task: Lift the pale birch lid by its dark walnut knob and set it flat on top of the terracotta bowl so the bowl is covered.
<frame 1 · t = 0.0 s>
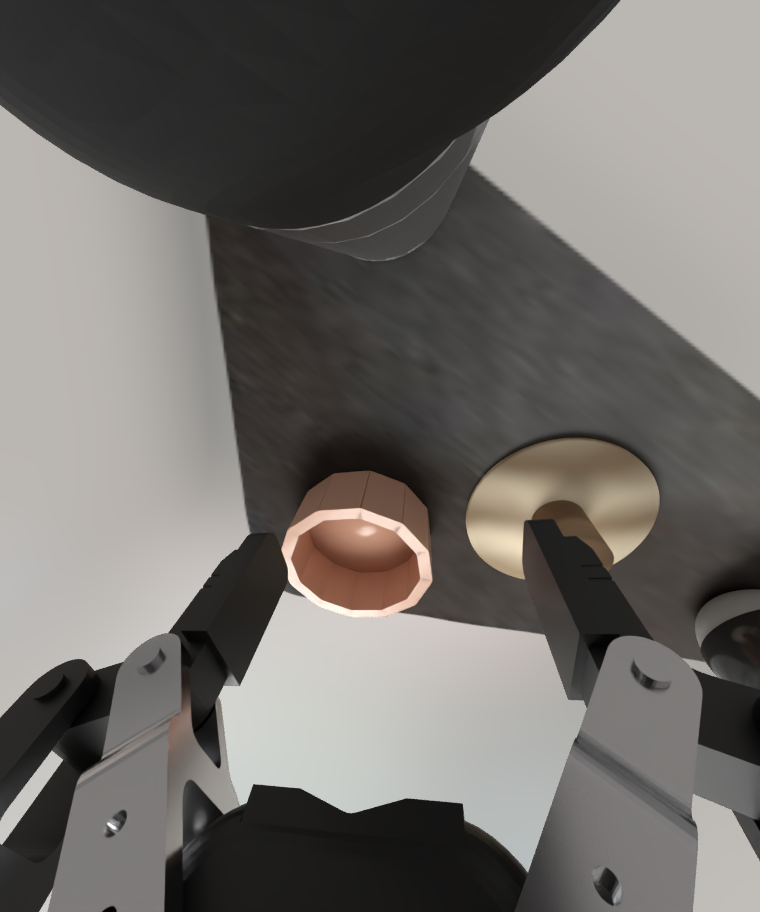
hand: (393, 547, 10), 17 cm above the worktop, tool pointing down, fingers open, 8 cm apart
pump dispenser: (732, 605, 33), on the worktop
bowl: (364, 526, 33), on the worktop
lid: (553, 513, 30), on the worktop
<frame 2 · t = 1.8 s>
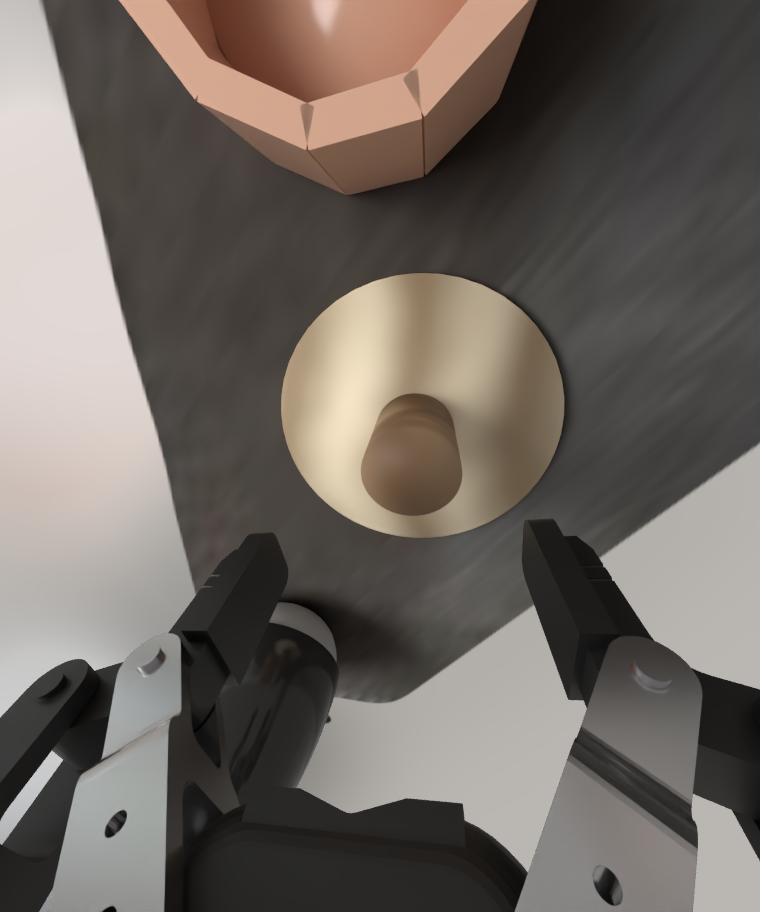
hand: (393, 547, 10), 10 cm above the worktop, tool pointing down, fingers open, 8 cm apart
pump dispenser: (296, 621, 30), on the worktop
lid: (415, 424, 20), on the worktop
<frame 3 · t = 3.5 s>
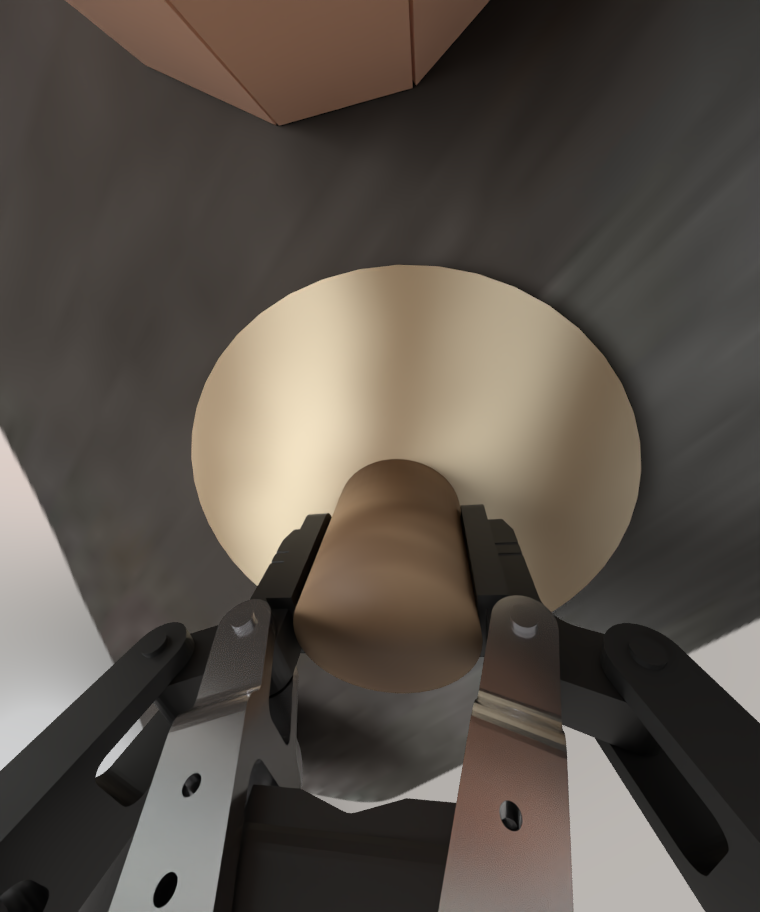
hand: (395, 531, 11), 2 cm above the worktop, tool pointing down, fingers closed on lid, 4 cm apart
pump dispenser: (253, 715, 23), on the worktop
lid: (400, 497, 13), on the worktop, touching gripper
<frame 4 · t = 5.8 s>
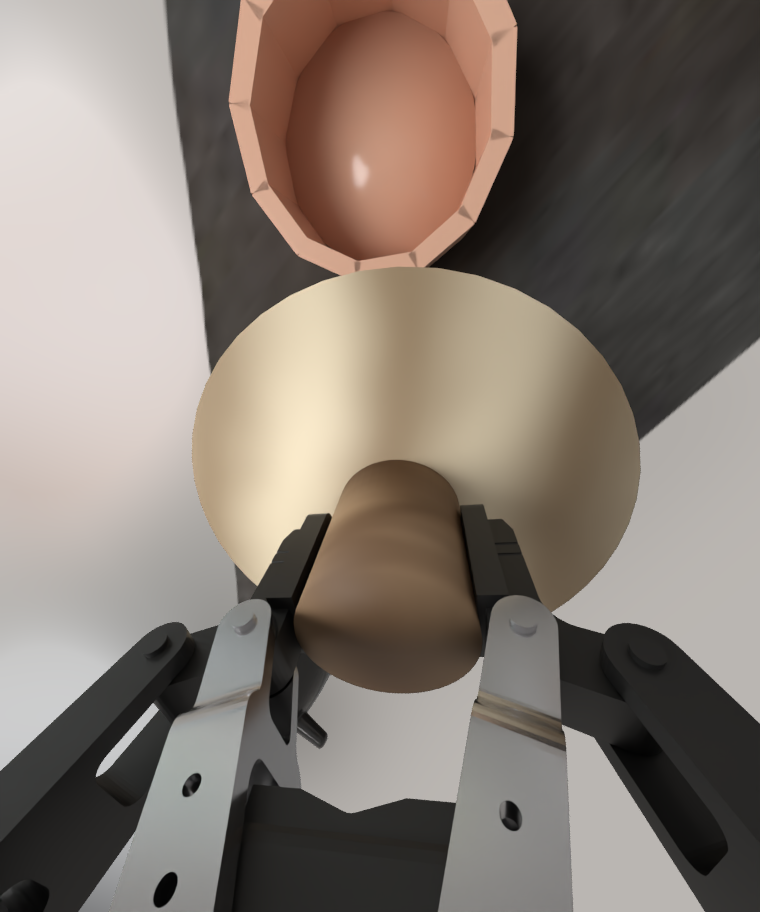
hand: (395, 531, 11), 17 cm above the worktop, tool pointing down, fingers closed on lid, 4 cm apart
pump dispenser: (313, 582, 38), on the worktop
bowl: (380, 161, 20), on the worktop
lid: (400, 497, 13), point 15 cm above the worktop, touching gripper
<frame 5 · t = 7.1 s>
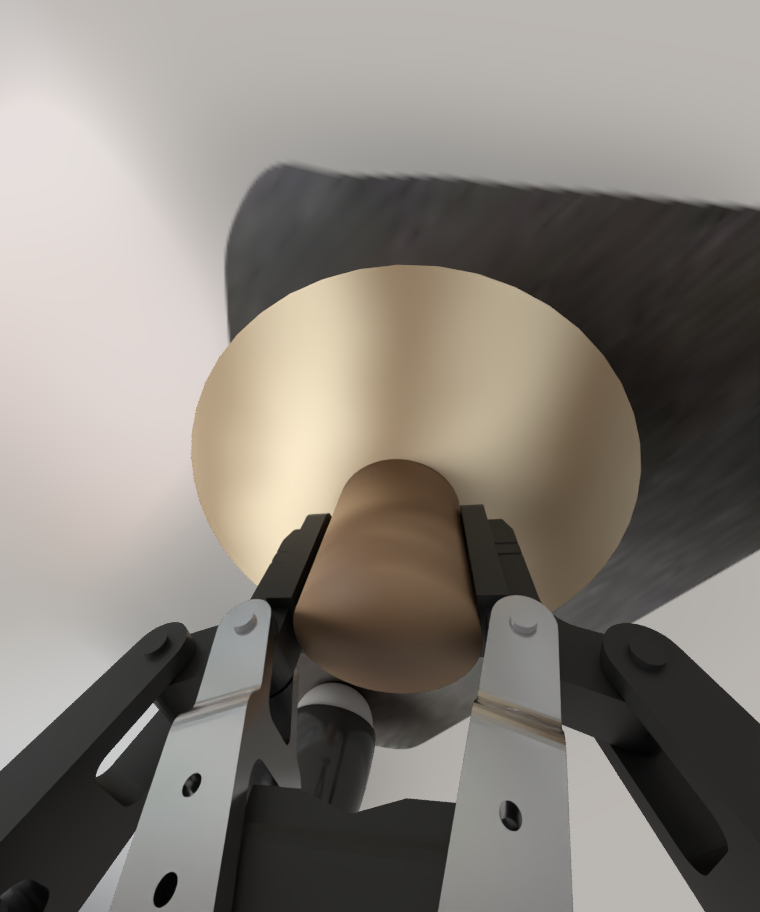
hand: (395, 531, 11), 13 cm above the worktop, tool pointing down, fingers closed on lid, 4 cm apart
pump dispenser: (340, 692, 41), on the worktop
lid: (400, 497, 13), point 11 cm above the worktop, touching gripper
when the fingers open (9 cm above the worktop, at t = 8.1 s): lid drops 1 cm, resting on bowl.
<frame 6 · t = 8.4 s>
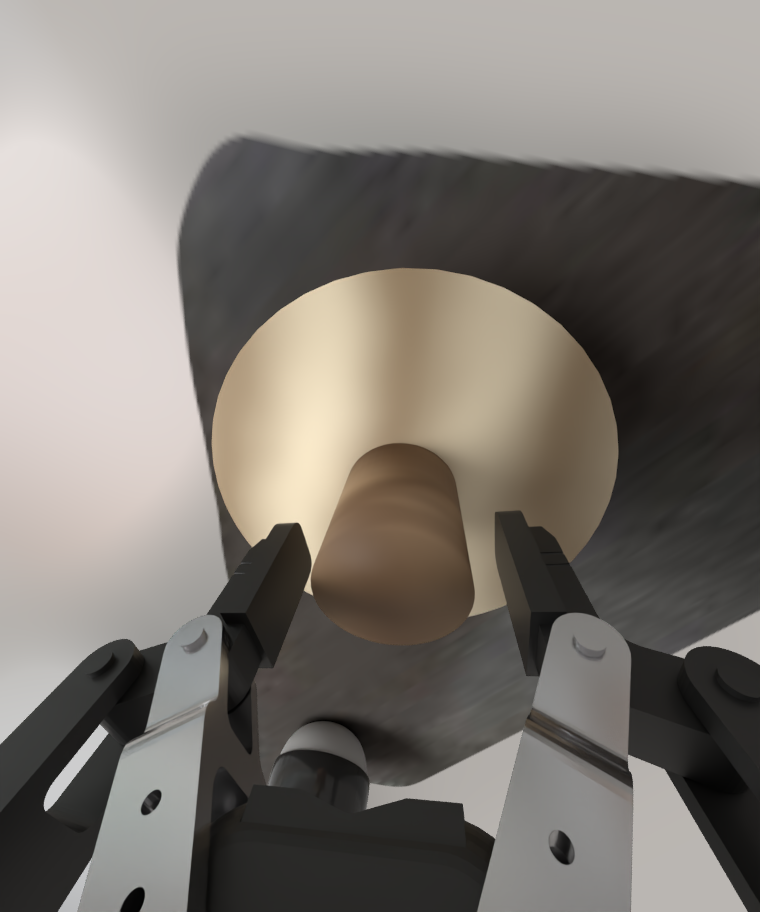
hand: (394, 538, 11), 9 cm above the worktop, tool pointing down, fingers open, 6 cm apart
pump dispenser: (331, 730, 37), on the worktop
lid: (402, 480, 14), point 5 cm above the worktop, touching bowl
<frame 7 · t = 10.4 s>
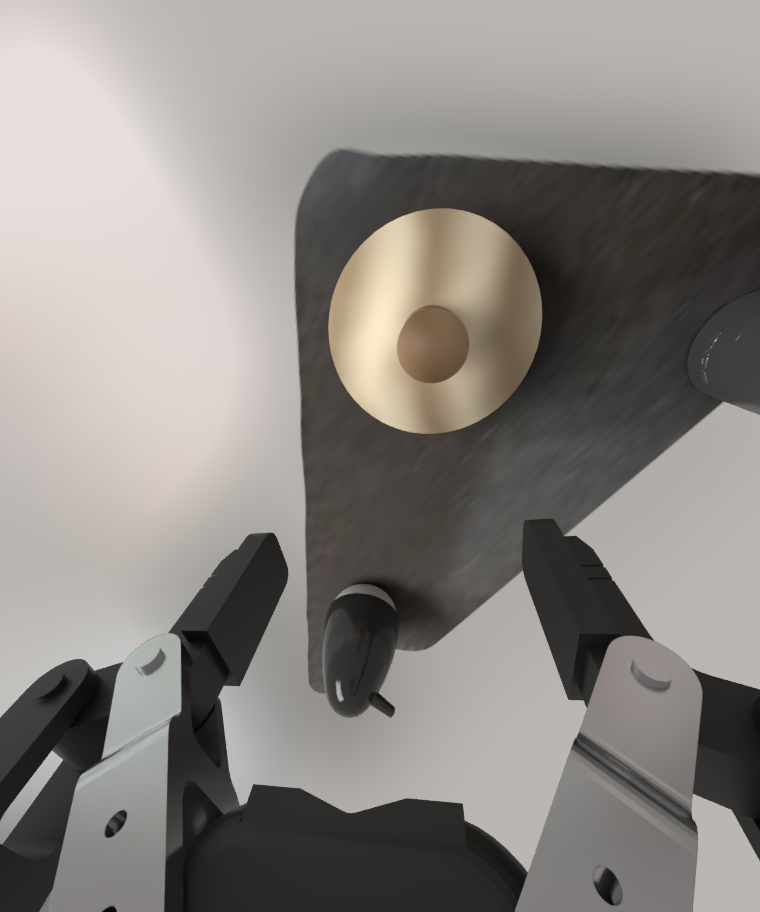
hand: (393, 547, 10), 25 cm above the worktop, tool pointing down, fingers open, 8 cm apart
pump dispenser: (368, 596, 49), on the worktop
lid: (430, 335, 26), point 5 cm above the worktop, touching bowl
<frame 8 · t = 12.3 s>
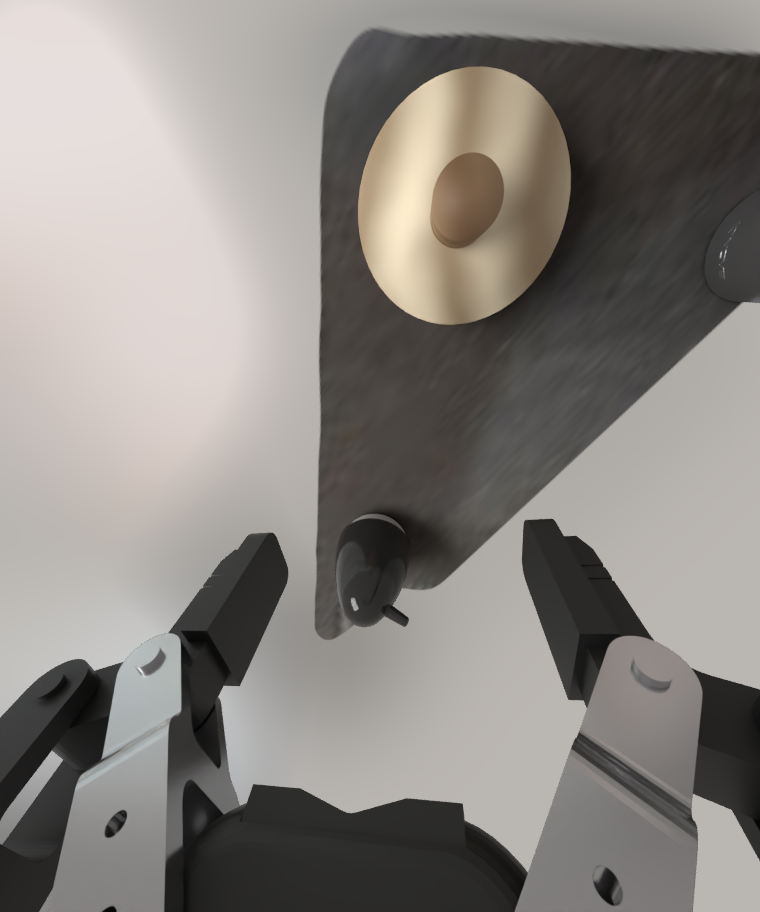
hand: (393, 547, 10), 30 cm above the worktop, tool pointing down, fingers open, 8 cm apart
pump dispenser: (378, 529, 49), on the worktop
lid: (458, 216, 26), point 5 cm above the worktop, touching bowl
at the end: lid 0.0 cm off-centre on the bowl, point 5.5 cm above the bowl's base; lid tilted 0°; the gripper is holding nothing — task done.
